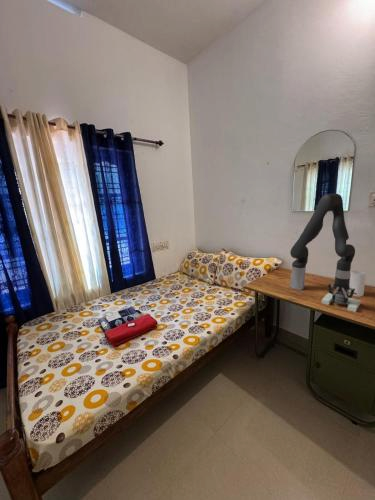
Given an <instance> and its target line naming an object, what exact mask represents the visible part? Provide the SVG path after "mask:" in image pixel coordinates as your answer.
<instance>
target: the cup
mask: <svg viewBox="0 0 375 500" xmlns="http://www.w3.org/2000/svg"><path fill="white" fill-rule="evenodd" d="M366 277H367V272H366V271H363V270H358V269H357V270H355V269H354V270H350V282H349V287H350V288H352V289H353V288H354V289H355V291H354V293H357V294H356V295H355V294H353V297H354V296H355V297H363V296H364V293H365V285H366ZM348 291H349V292H350V290H348ZM348 295H350V293H348Z"/></svg>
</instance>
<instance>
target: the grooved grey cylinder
mask: <svg viewBox="0 0 375 500" xmlns="http://www.w3.org/2000/svg"><path fill="white" fill-rule="evenodd" d="M344 302H345V295H344V293H342V292H338V291H337V292H336V294H335V301H334V303H335V304H338V305H345V304H344Z"/></svg>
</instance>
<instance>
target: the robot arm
mask: <svg viewBox="0 0 375 500" xmlns="http://www.w3.org/2000/svg"><path fill="white" fill-rule="evenodd" d="M317 203H318V204H317V206H316V208H315V209H314V212H313V214H312V215H311V217H310V219H309V221H308V222H307V223H306V225H305V226H304V227H305V228H304V229H303V231H302V233H301V234H300V235H299V237H298V239H297V241H296V242H295V243H294V244H293V246H292V247H291V249H290V253H289V254H290V256H291V257H292V258H293V259H294V261H293V262H292V265H291V275H290V277H289V278H290V279H289V280H290V281H289V288H290V289H293V290H297V291H302V290H304V289H305V281H306V270H307V269H306V266H307V264H308V259H309V248H308V247H307V245H308V244H309V243H310V242H312V241H314V240H315V239H316V238H317V237H318V235H319V234H320V232H321V231H322V229H323V227H324V218H325V216H326V215H327V213H328V212H329V211H330V210H331V211H332V215H333V218H332V225H331V226H332V228H331V229H332V234H333V237H334V251H335V253H336V255H337V256H338V257H340V258H339V259H338V260H337V262H336V269H335V274H334V283H329V284H328V286H327V287H328V293H330V294H332V299H333V301H332V302H335V294H336V292H341V293H344V295H345V302H344V303H345V304H344V305H347V304H346V303H347V302H348V298H352V299H353V297H354V295H353V294H354V291H355V289H354V288H353V289H352V288H350V287H349V285H350V277H351V268H352V262H353V260H354V257H355V255H356V249H355V246H354V245H352V244H350V243H349V244H348V243H347V241H348V240H349V239H350V238H349V237H350V236H349V233H348V230H347V229H348V228H347V226H346V220H345V212H344V202H343V197H342V195H341V194H339V193H325V194H324V195H322V196H321V198H320V199H319V200H318V202H317ZM333 288H334V289H335V290H333ZM347 290H348V291H349V290H350V292H351V293H350V294H349V293H348V292H347Z"/></svg>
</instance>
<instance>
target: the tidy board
mask: <svg viewBox="0 0 375 500" xmlns="http://www.w3.org/2000/svg"><path fill="white" fill-rule="evenodd" d="M347 292H348V294H349V293H351V292H349V290H347ZM354 294H355V295H356V294H357V293H354ZM332 302H334V301H333V299H332V294H330V293H329V292H327V294H325V296H324V297H323V298H322V299H321V304H322V305H323V304H324V305H327V306H328V305H330V304H331V303H332ZM343 305H347V311H351V312H353V313H356V312H357V310H358V308H359V306H361V299H355V298H353V297H352V298H348V302H347V303H346V304H345V303H344V304H343Z"/></svg>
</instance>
